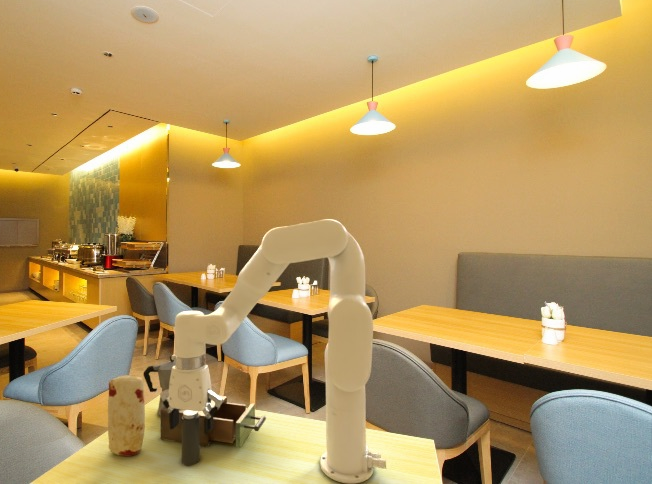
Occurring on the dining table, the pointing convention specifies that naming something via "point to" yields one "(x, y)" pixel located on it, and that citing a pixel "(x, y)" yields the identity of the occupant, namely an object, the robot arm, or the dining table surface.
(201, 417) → the cabinet
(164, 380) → the coffeepot
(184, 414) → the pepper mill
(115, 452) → the food model
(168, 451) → the dining table surface
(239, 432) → the drawer
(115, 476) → the dining table surface
